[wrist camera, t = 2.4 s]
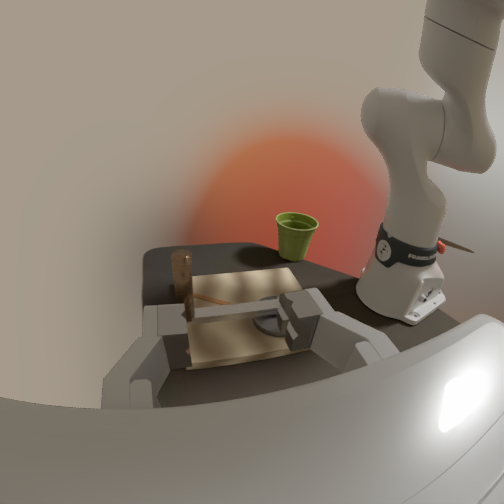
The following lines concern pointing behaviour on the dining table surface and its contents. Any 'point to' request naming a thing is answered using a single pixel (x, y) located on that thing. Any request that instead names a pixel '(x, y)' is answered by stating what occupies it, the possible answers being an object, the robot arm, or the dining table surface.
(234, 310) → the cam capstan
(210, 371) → the dining table surface
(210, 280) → the stand
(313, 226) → the plant pot
